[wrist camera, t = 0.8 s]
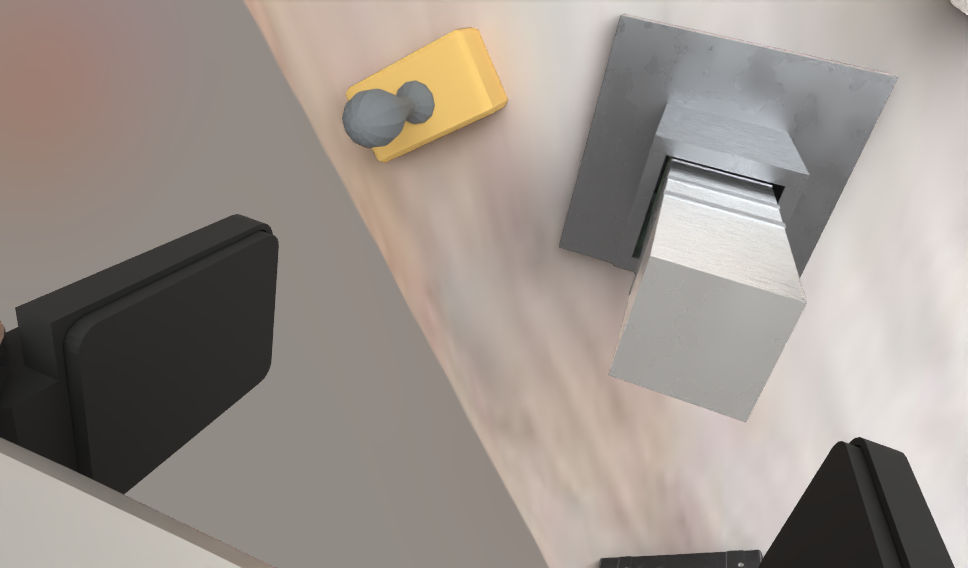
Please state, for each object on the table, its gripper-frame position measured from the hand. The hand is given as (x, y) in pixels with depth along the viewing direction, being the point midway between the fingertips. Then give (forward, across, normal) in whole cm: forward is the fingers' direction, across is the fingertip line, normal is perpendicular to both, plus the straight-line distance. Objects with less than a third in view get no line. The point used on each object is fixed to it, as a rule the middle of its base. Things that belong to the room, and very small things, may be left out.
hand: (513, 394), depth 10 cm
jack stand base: (+36, -4, +3) cm, 36 cm away
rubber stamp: (+36, +16, +4) cm, 40 cm away
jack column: (+34, -4, +3) cm, 34 cm away
